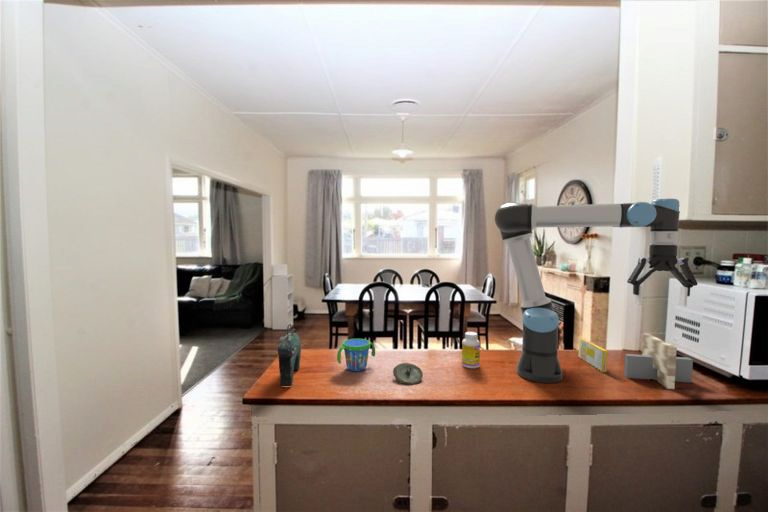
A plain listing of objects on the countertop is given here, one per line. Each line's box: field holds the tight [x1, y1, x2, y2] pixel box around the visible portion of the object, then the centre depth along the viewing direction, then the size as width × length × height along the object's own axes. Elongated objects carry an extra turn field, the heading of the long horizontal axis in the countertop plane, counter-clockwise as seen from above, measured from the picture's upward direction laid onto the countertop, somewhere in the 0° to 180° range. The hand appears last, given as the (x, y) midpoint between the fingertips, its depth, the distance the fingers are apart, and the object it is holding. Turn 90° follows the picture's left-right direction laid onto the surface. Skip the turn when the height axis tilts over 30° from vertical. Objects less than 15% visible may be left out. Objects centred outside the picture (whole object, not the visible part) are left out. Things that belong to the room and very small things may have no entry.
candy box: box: [578, 337, 609, 373], centre depth 135 cm, size 16×2×8 cm, turn 179°
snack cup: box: [336, 338, 376, 372], centre depth 131 cm, size 16×10×10 cm
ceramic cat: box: [277, 323, 302, 387], centre depth 122 cm, size 20×6×20 cm, turn 3°
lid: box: [392, 362, 424, 385], centre depth 121 cm, size 11×10×5 cm
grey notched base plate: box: [623, 353, 694, 383], centre depth 121 cm, size 20×2×8 cm, turn 79°
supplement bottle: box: [461, 331, 481, 369], centre depth 133 cm, size 7×7×13 cm
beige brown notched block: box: [641, 333, 677, 390], centre depth 120 cm, size 16×2×14 cm, turn 169°
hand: (660, 305), depth 119 cm, fingers open, 13 cm apart
